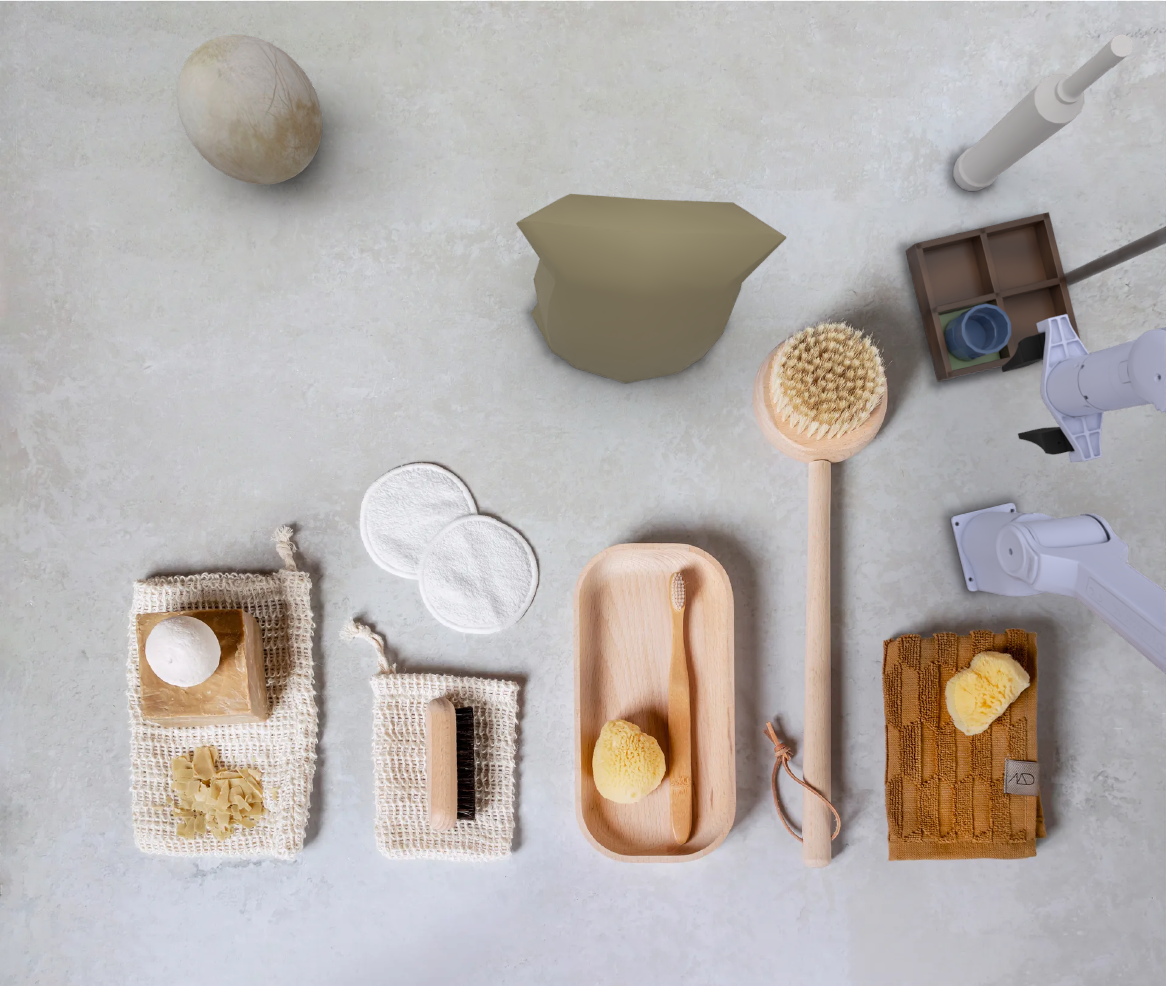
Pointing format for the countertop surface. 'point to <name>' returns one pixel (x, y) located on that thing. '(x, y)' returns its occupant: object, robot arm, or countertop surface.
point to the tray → (1001, 282)
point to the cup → (978, 332)
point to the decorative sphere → (249, 109)
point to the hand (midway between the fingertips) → (1018, 400)
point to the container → (640, 279)
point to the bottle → (1035, 118)
